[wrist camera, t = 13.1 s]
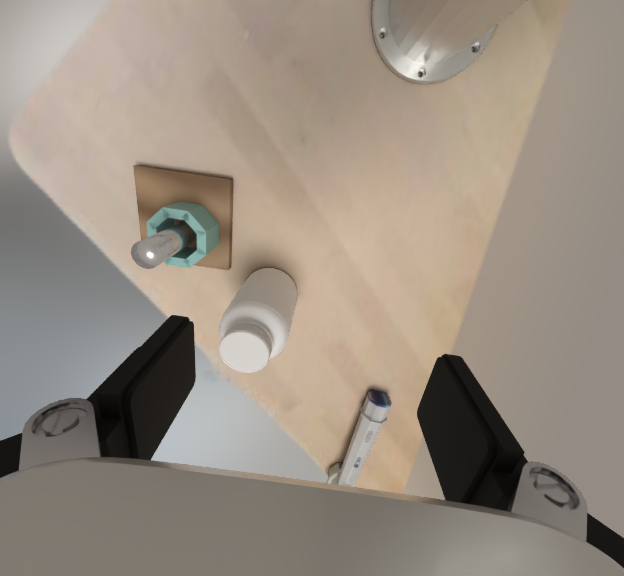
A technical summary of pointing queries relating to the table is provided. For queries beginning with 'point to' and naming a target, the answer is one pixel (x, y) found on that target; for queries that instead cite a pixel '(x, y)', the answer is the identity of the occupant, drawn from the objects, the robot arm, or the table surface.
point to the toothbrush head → (361, 439)
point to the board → (192, 189)
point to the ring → (197, 221)
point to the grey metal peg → (162, 245)
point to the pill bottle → (258, 320)
